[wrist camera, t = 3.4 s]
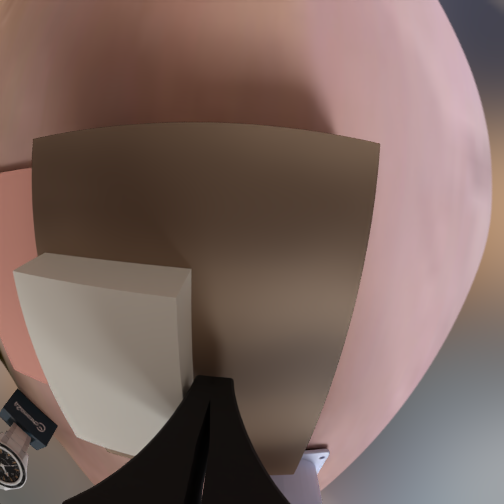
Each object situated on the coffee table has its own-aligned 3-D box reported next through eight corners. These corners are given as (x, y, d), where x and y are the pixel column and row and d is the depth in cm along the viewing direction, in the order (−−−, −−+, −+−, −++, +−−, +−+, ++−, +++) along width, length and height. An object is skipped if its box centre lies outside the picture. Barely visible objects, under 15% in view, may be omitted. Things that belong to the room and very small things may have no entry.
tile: (197, 436, 11) (192, 467, 9) (90, 411, 11) (77, 437, 9) (191, 269, 8) (176, 297, 7) (45, 252, 8) (12, 270, 6)
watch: (63, 422, 17) (22, 503, 7) (43, 434, 19) (10, 497, 8) (20, 382, 16) (-33, 457, 6) (8, 401, 18) (-33, 460, 7)
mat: (117, 402, 16) (115, 406, 15) (16, 367, 15) (14, 369, 15) (79, 162, 11) (75, 162, 11) (-26, 178, 11) (-30, 179, 10)
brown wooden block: (287, 429, 17) (293, 474, 13) (124, 412, 16) (107, 451, 12) (340, 149, 11) (380, 143, 7) (85, 141, 11) (33, 139, 7)
